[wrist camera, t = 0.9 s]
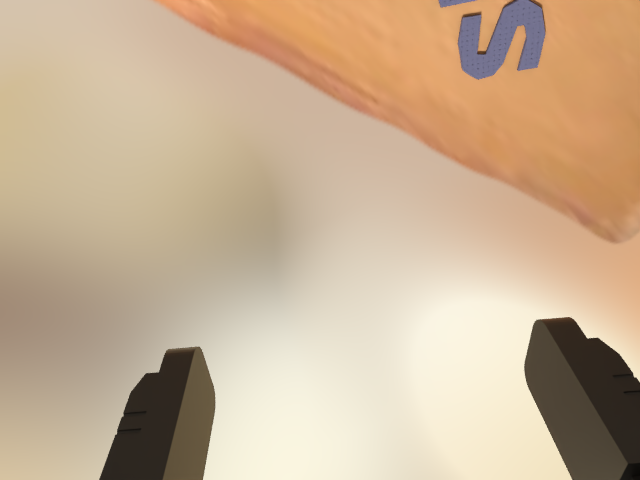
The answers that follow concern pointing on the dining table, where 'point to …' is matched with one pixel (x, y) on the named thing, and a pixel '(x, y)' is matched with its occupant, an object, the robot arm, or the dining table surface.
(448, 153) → the dining table surface
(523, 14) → the signage
